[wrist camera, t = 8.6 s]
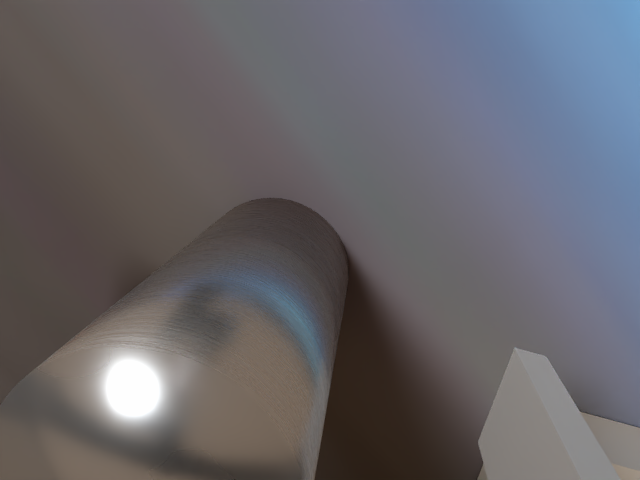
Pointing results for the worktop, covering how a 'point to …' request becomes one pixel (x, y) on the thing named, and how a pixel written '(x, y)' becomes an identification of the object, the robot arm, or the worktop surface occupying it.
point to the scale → (612, 446)
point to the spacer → (196, 364)
